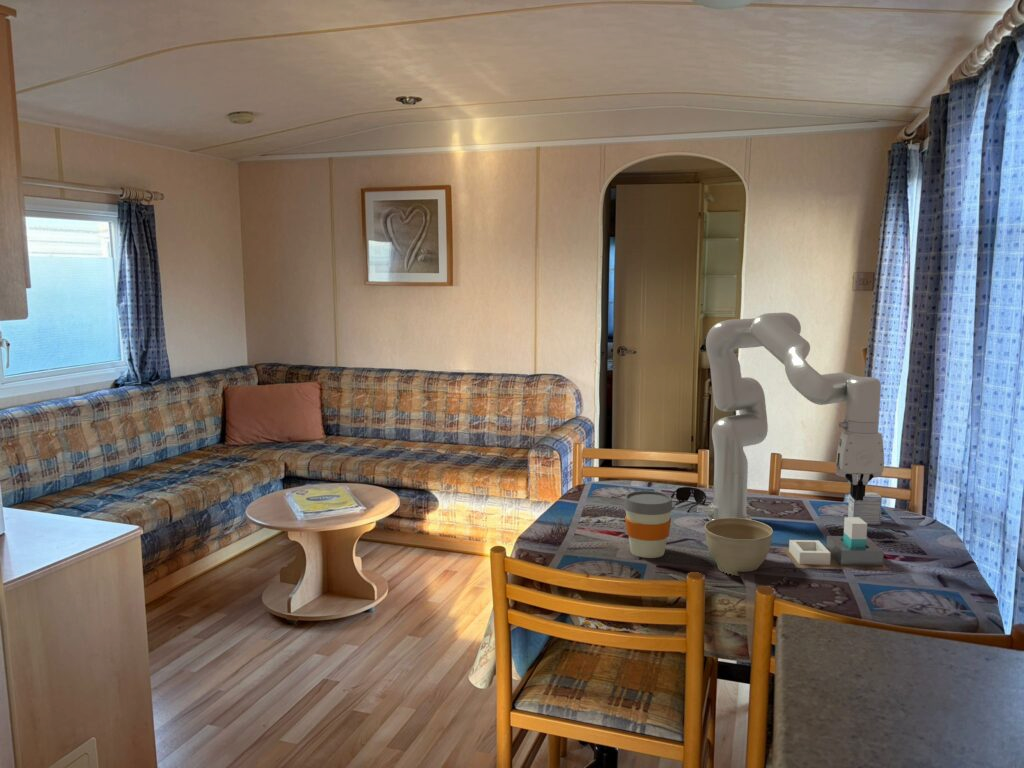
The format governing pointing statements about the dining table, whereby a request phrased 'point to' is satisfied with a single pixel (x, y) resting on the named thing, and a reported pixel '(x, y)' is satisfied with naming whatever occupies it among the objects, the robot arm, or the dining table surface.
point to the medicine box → (866, 508)
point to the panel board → (832, 565)
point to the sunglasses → (685, 493)
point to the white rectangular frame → (809, 552)
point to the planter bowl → (738, 543)
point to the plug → (855, 532)
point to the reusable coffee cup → (647, 522)
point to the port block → (855, 553)
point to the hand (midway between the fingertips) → (857, 498)
